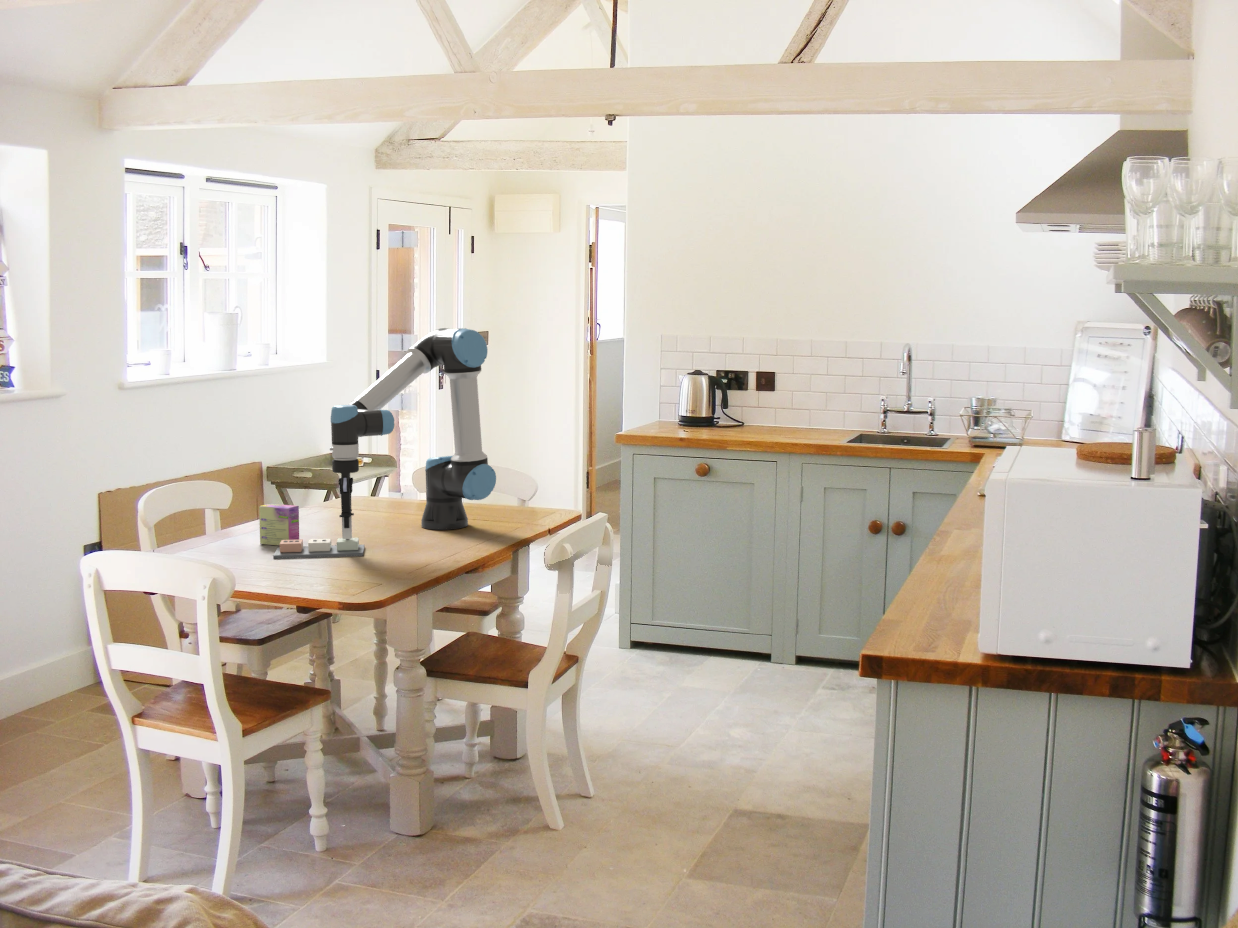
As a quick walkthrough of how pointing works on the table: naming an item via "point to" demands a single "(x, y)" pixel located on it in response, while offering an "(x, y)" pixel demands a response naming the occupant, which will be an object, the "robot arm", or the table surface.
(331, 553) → the keypad board
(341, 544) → the tile one
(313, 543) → the tile two
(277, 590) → the table surface
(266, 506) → the box
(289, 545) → the tile three
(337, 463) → the robot arm
